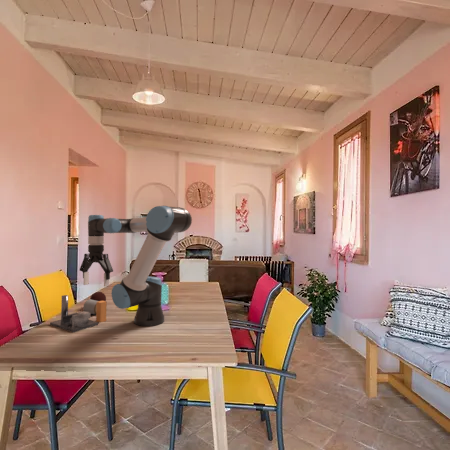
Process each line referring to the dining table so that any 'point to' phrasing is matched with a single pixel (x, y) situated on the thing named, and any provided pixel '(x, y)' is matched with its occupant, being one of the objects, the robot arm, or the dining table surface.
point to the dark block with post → (70, 319)
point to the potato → (98, 296)
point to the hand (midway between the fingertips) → (96, 285)
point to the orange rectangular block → (101, 311)
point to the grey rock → (80, 318)
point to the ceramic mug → (90, 306)
